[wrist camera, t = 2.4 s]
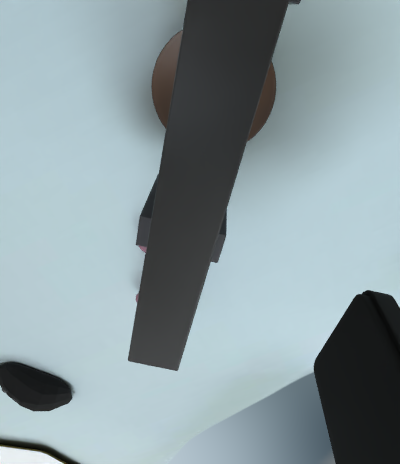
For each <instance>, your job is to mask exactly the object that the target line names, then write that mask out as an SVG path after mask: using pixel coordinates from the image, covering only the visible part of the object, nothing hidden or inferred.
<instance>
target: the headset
mask: <svg viewBox="0 0 400 464" xmlns="http://www.w3.org/2000/svg"><path fill="white" fill-rule="evenodd" d="M300 1H301V0H188V1H187V7H186V13H185V19H184V25H183V31H182V37H181V43H180V49H179V55H178V61H177V67H176V73H175V79H174V85H173V91H172V97H171V103H170V109H169V115H168V121H167V128H166V134H165V140H164V146H163V152H162V158H161V164H160V170H159V174H158V175H157V178H156V180H155V182H154V185H153V187H152V189H151V192H150V194H149V196H148V199H147V201H146V203H145V206H144V208H143V210H142V213H141V215H140V219H139V226H138V233H137V240H136V245H138V246H143V247H147V248H146V254H145V260H144V266H143V272H142V278H141V284H140V290H139V296H138V302H137V308H136V314H135V320H134V326H133V332H132V338H131V344H130V350H129V356H128V361H130V362H135V363H140V364H145V365H150V366H155V367H160V368H165V369H170V370H175V371H177V370H178V368H179V365H180V362H181V358H182V355H183V352H184V348H185V345H186V342H187V338H188V335H189V332H190V328H191V325H192V322H193V319H194V315H195V312H196V309H197V305H198V302H199V299H200V295H201V292H202V289H203V285H204V282H205V279H206V275H207V272H208V269H209V265H210V262H215V263H217V262H218V260H219V257H220V254H221V251H222V247H223V244H224V241H225V238H226V220H227V206H228V202H229V199H230V196H231V193H232V189H233V186H234V183H235V179H236V176H237V173H238V169H239V166H240V163H241V159H242V156H243V153H244V149H245V146H246V143H247V139H248V136H249V133H250V130H251V126H252V123H253V120H254V116H255V113H256V110H257V106H258V103H259V100H260V96H261V93H262V90H263V86H264V83H265V80H266V76H267V73H268V70H269V67H270V63H271V60H272V57H273V53H274V50H275V47H276V43H277V40H278V37H279V33H280V30H281V27H282V23H283V20H284V17H285V13H286V10H287V7H288V4H299V3H300Z"/></svg>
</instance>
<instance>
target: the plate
mask: <svg viewBox="0 0 400 464" xmlns="http://www.w3.org/2000/svg"><path fill="white" fill-rule="evenodd" d="M0 464H67V463H65V462H63V461H62V460H60V459H58V458H56V457H54V456H53V455H51V454H49V453H47V452H44V451H41V450H36V449H29V448H21V447H14V446H7V445H0Z"/></svg>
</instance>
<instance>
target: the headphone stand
mask: <svg viewBox="0 0 400 464" xmlns="http://www.w3.org/2000/svg"><path fill="white" fill-rule="evenodd" d="M182 31H183V30H181V31H180V32H178V33H177V34H176V35H175V36H173V37H172V38H171V39H170V40H169V42H168V43H167V44H166V45H165V47H164V48H163V50H162V51H161V53H160V55H159V57H158V59H157V61H156V64H155V67H154V71H153V76H152V97H153V103H154V106H155V109H156V112H157V114H158V117H159V119H160V120H161V122H162V124H163V125H164V127H165V128H167V121H168V115H169V109H170V103H171V97H172V91H173V85H174V79H175V73H176V67H177V61H178V55H179V49H180V43H181V37H182ZM275 94H276V78H275V71H274V67H273V64H272V61H271V63H270V67H269V70H268V73H267V76H266V80H265V83H264V86H263V90H262V93H261V96H260V100H259V103H258V106H257V110H256V113H255V116H254V120H253V123H252V126H251V130H250V133H249V136H248V139H247V141H249V140H250V139H251V138H253V137H254V136H255V135H256V134H257V133H258V132H259V131H260V130H261V128H262V127H263V126H264V124H265V123H266V121H267V119H268V117H269V115H270V113H271V110H272V108H273V104H274V100H275Z"/></svg>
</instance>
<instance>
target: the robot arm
mask: <svg viewBox="0 0 400 464" xmlns="http://www.w3.org/2000/svg"><path fill="white" fill-rule="evenodd" d="M314 373H315V378H316V382H317V387H318V391H319V395H320V399H321V404H322V408H323V412H324V416H325V420H326V425H327V429H328V433H329V437H330V442H331V446H332V450H333V454H334V458H335V462H336V464H400V308H399V306H398V304H397V303H396V301H395V299H394V298H393V297H392V296H391V295H388V294H384V293H379V292H374V291H370V290H367V291H365V292H363V293H362V294H358V295H356V296H355V298H354V299H353V301H352V302H351V304H350V305H349V307H348V309H347V310H346V312H345V313H344V315H343V316H342V318H341V320H340V321H339V323H338V324H337V326H336V328H335V329H334V331H333V332H332V334H331V336H330V337H329V339H328V340H327V342H326V343H325V345H324V347H323V348H322V350H321V351H320V353H319V355H318V356H317V358H316V360H315V363H314Z"/></svg>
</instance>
